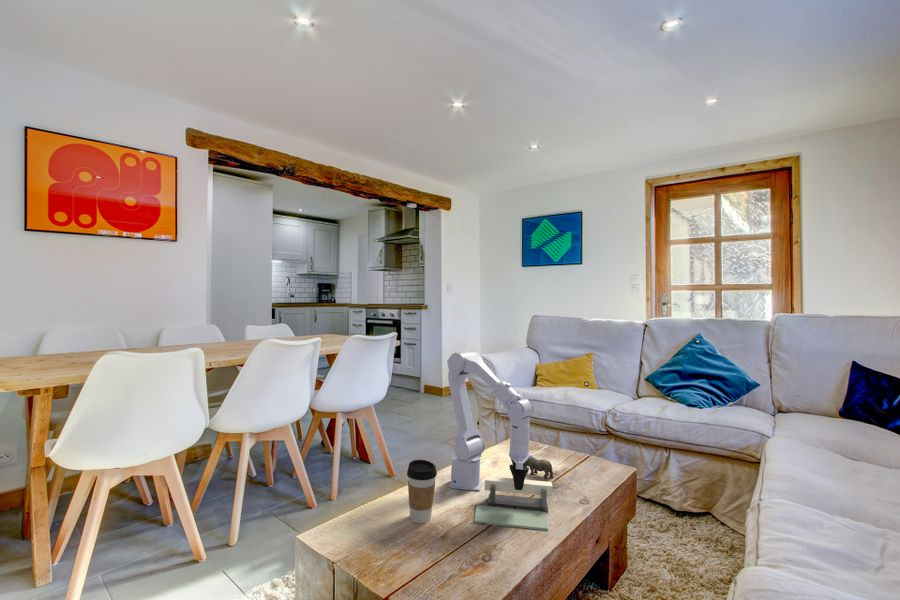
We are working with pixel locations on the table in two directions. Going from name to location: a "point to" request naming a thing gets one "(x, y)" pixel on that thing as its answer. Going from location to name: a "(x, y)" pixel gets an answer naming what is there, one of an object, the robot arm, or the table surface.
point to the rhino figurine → (539, 467)
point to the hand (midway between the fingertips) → (518, 484)
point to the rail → (508, 486)
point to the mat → (511, 517)
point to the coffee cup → (421, 489)
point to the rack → (518, 501)
